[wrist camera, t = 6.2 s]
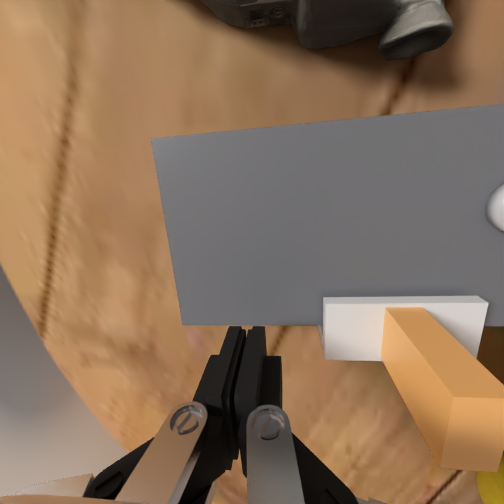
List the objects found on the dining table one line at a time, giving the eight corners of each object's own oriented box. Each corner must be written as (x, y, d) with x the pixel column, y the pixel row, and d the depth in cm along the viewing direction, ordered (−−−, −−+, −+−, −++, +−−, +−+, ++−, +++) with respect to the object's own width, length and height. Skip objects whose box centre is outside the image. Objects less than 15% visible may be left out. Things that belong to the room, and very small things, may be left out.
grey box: (541, 120, 16) (773, 72, 8) (505, 275, 19) (653, 342, 11) (198, 151, 19) (142, 136, 11) (214, 281, 21) (178, 337, 14)
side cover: (407, 251, 19) (639, 397, 6) (402, 291, 19) (599, 484, 7) (309, 255, 19) (353, 387, 7) (309, 293, 20) (349, 466, 8)
